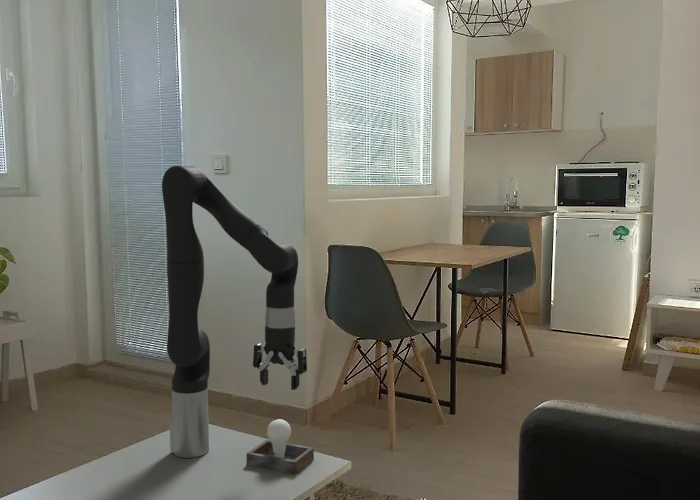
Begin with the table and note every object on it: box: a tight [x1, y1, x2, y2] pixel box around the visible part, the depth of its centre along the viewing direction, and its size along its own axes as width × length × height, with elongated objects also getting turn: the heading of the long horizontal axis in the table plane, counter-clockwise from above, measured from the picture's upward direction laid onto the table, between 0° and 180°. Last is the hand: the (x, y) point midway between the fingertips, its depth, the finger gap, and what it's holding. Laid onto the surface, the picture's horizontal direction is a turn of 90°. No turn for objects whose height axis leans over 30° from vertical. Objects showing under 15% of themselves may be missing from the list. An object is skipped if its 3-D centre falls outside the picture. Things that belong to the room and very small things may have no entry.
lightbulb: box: [266, 418, 292, 458], centre depth 174 cm, size 6×6×11 cm
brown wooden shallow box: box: [245, 439, 315, 475], centre depth 174 cm, size 14×10×3 cm
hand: (279, 386), depth 172 cm, fingers open, 8 cm apart
